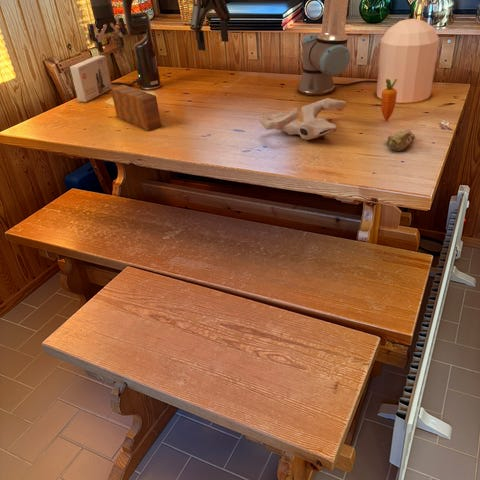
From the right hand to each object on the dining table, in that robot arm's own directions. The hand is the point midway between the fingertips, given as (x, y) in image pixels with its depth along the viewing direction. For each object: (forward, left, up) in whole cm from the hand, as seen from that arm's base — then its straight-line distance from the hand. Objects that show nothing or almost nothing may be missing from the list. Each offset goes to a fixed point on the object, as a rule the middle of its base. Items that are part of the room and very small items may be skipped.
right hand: (213, 45), depth 168 cm
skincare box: (+38, -66, -27) cm, 81 cm away
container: (-71, +22, -27) cm, 79 cm away
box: (+30, -17, -27) cm, 43 cm away
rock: (-38, +60, -27) cm, 76 cm away
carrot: (-48, +41, -27) cm, 68 cm away
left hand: (+32, -26, 0) cm, 41 cm away
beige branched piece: (-18, +37, -27) cm, 49 cm away
